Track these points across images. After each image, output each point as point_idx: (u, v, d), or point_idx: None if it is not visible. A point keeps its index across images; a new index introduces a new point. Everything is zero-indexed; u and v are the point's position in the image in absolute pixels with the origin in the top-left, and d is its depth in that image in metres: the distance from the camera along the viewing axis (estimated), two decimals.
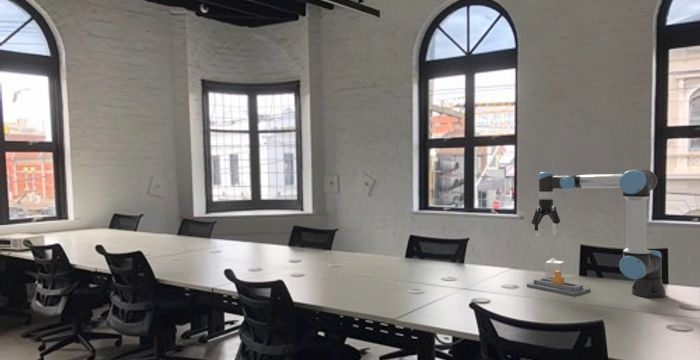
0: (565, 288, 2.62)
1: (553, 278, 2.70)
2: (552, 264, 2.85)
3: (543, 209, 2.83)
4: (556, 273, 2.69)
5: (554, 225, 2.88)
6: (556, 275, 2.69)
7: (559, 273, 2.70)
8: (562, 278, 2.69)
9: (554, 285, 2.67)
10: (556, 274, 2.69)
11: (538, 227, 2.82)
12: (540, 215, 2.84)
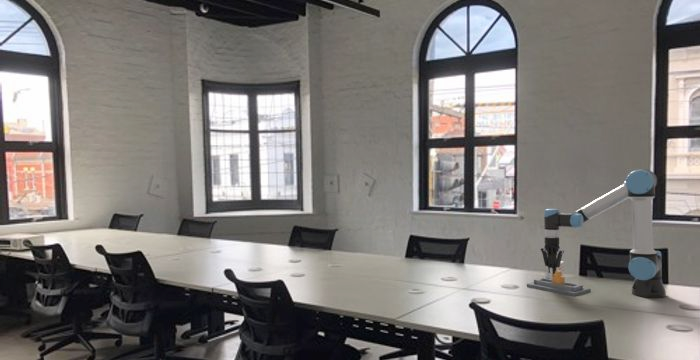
0: (565, 288, 2.62)
1: (553, 278, 2.70)
2: None
3: (546, 247, 2.75)
4: (556, 273, 2.69)
5: None
6: (556, 275, 2.69)
7: (559, 273, 2.69)
8: (562, 278, 2.68)
9: (554, 285, 2.67)
10: (556, 274, 2.69)
11: (550, 270, 2.73)
12: None
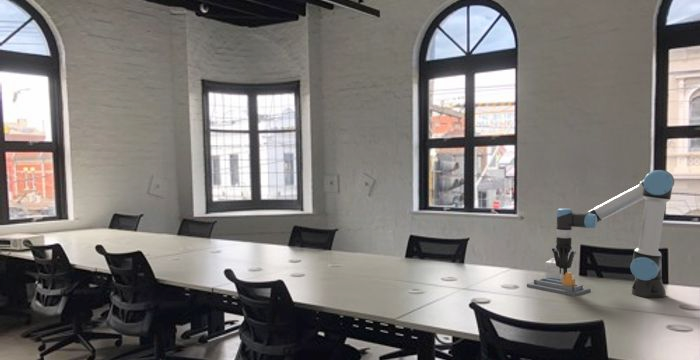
0: (565, 288, 2.62)
1: (564, 280, 2.65)
2: (552, 264, 2.85)
3: (557, 247, 2.69)
4: (567, 275, 2.64)
5: None
6: (567, 277, 2.64)
7: (570, 275, 2.64)
8: (573, 280, 2.64)
9: (554, 285, 2.67)
10: (567, 276, 2.64)
11: (561, 270, 2.68)
12: None
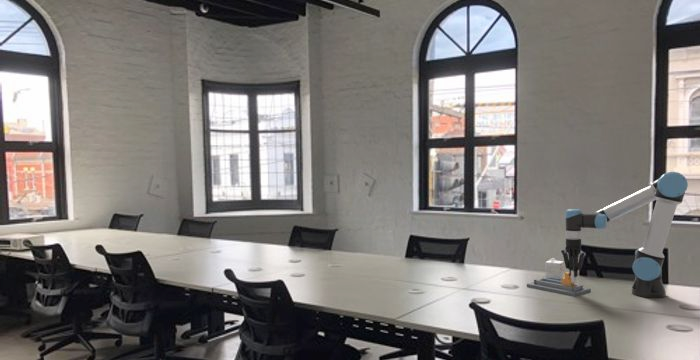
0: (565, 288, 2.62)
1: (563, 279, 2.66)
2: (552, 264, 2.85)
3: (567, 249, 2.64)
4: (566, 275, 2.65)
5: None
6: (566, 277, 2.65)
7: (569, 275, 2.65)
8: None
9: (554, 285, 2.67)
10: (566, 276, 2.65)
11: (571, 272, 2.63)
12: None
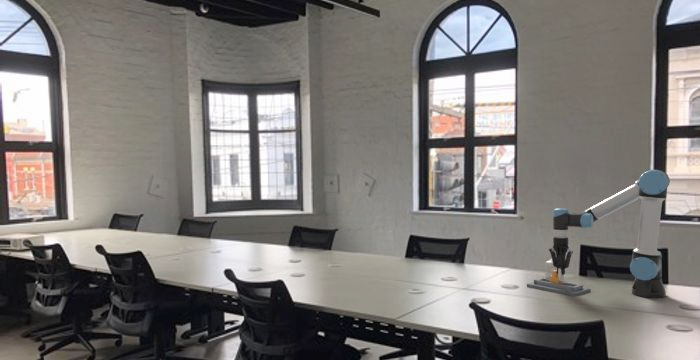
0: (565, 288, 2.62)
1: (551, 277, 2.71)
2: (552, 264, 2.85)
3: (554, 247, 2.70)
4: (554, 273, 2.70)
5: None
6: (554, 275, 2.70)
7: None
8: None
9: (554, 285, 2.67)
10: (554, 274, 2.70)
11: (558, 270, 2.69)
12: None
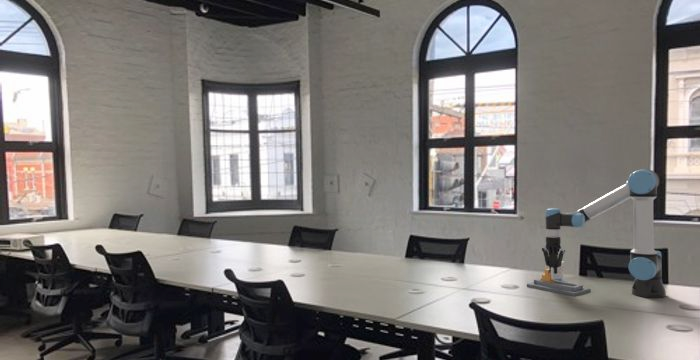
0: (565, 288, 2.62)
1: (543, 276, 2.75)
2: None
3: (547, 246, 2.74)
4: (546, 271, 2.74)
5: None
6: (546, 273, 2.74)
7: (549, 271, 2.74)
8: None
9: (554, 285, 2.67)
10: (546, 272, 2.74)
11: (551, 269, 2.72)
12: None
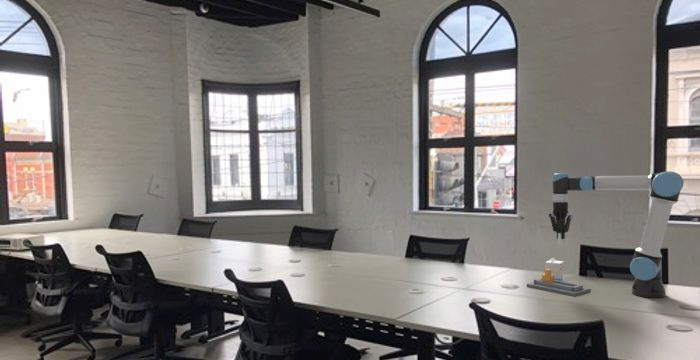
0: (565, 288, 2.62)
1: (543, 276, 2.75)
2: (552, 264, 2.85)
3: (554, 212, 2.70)
4: (546, 271, 2.74)
5: None
6: (546, 273, 2.74)
7: (549, 271, 2.74)
8: (552, 276, 2.73)
9: (554, 285, 2.67)
10: (546, 272, 2.74)
11: (558, 235, 2.68)
12: None
